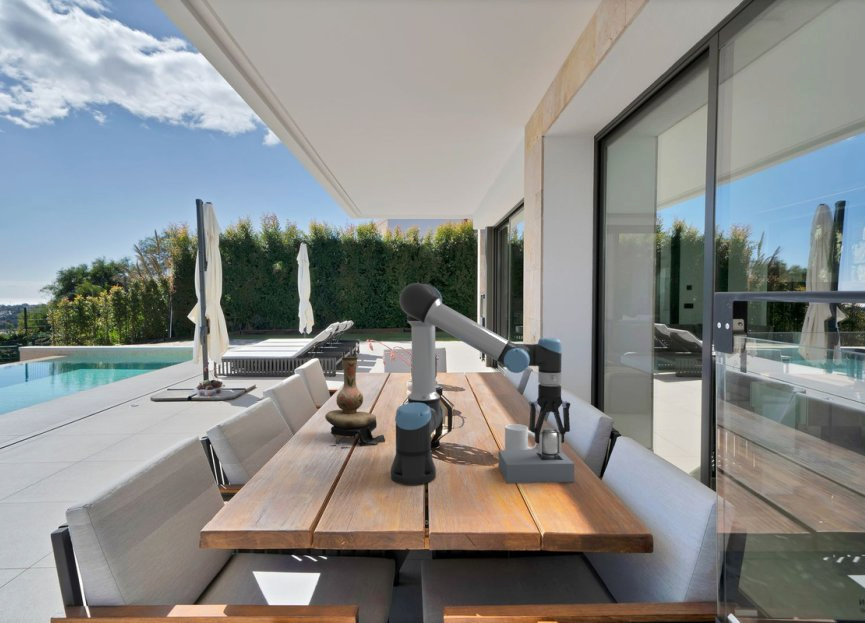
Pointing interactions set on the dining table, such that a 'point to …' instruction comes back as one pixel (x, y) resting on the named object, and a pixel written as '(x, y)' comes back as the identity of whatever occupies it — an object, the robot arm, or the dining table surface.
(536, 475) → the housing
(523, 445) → the mug
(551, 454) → the silver can
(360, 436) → the vase
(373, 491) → the dining table surface
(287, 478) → the dining table surface
